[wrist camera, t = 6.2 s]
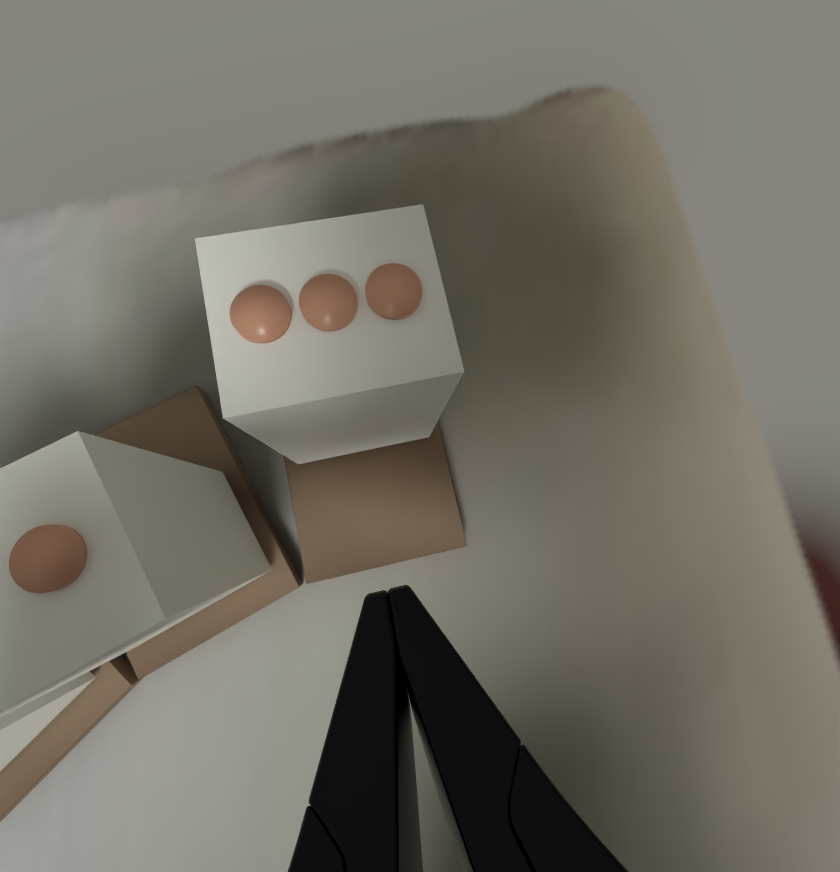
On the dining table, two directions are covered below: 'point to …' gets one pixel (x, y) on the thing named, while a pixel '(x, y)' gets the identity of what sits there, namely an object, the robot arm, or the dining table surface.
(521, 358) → the dining table surface
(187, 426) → the tile tracks
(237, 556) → the two-bump white pillar
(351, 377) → the three-dot tile
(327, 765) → the robot arm
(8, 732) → the white pillar with knob
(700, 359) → the dining table surface
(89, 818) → the dining table surface
